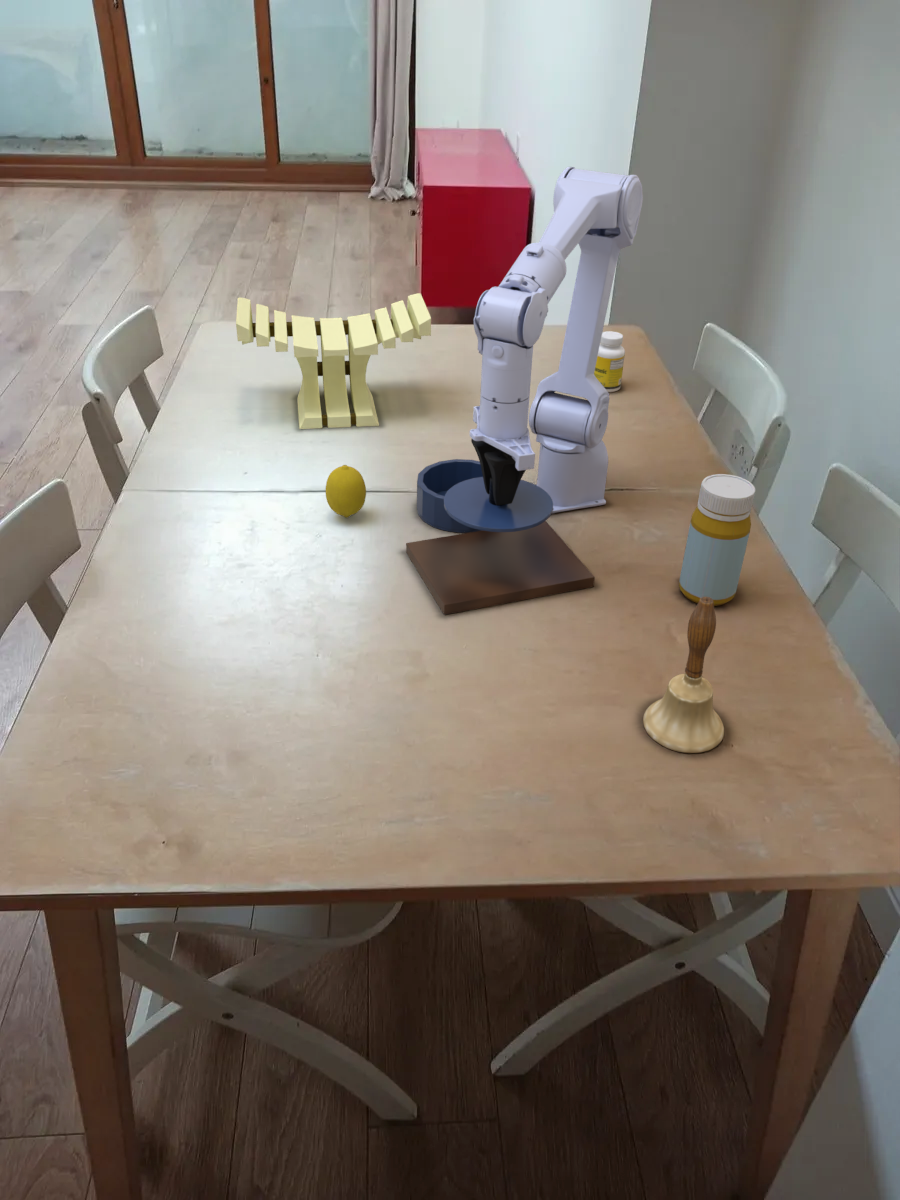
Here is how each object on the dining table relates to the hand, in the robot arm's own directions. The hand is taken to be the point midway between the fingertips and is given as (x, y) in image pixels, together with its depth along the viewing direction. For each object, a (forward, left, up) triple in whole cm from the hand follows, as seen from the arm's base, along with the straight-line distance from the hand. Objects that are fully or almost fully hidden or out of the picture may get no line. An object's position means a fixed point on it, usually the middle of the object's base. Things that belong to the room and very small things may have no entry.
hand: (498, 497), depth 120 cm
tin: (-1, -15, -10) cm, 18 cm away
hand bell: (-7, +35, -10) cm, 37 cm away
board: (0, +1, -10) cm, 10 cm away
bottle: (-23, +14, -10) cm, 29 cm away
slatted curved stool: (+7, -55, -10) cm, 56 cm away
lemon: (+15, -18, -10) cm, 26 cm away
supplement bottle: (-42, -50, -10) cm, 66 cm away
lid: (0, 0, -1) cm, 1 cm away
